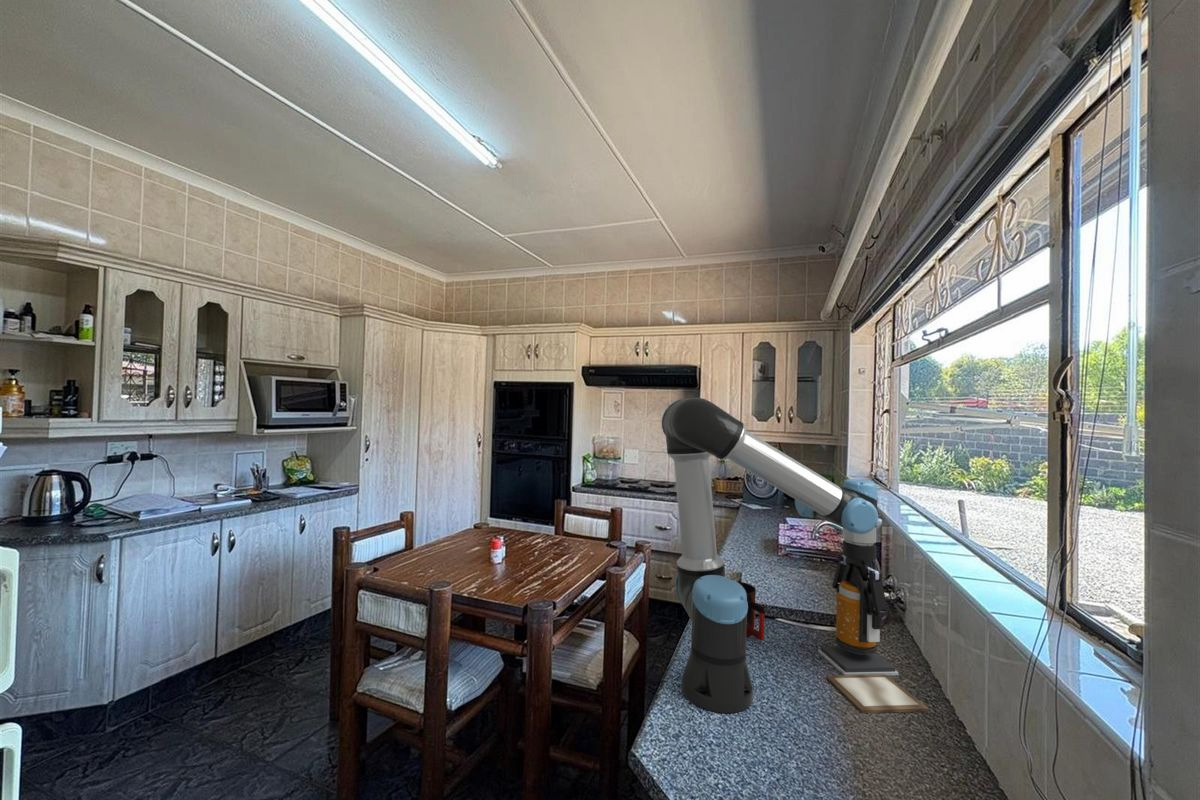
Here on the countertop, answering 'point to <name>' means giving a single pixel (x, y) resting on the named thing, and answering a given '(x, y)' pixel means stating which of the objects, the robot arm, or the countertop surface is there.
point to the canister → (853, 618)
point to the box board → (876, 694)
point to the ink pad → (856, 662)
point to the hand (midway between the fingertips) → (857, 630)
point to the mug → (753, 613)
